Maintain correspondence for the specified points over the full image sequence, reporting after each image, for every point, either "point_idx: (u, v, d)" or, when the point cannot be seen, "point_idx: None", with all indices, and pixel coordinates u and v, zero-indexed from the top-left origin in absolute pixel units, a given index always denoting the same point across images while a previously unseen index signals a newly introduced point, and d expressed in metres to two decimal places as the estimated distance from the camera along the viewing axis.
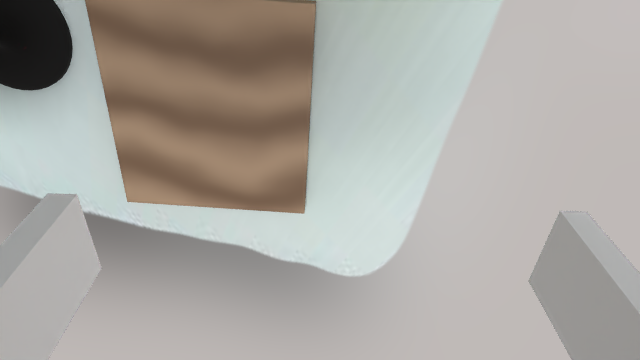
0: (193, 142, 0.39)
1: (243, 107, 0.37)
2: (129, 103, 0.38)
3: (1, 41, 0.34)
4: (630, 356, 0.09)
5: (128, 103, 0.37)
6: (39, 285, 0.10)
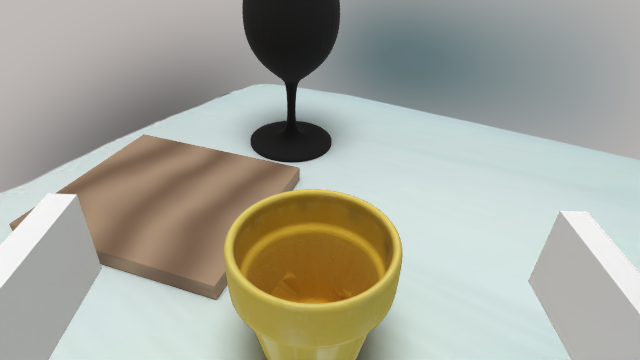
0: (157, 178, 0.43)
1: (160, 213, 0.39)
2: (214, 160, 0.47)
3: (287, 127, 0.53)
4: (630, 356, 0.09)
5: (214, 159, 0.47)
6: (39, 285, 0.10)
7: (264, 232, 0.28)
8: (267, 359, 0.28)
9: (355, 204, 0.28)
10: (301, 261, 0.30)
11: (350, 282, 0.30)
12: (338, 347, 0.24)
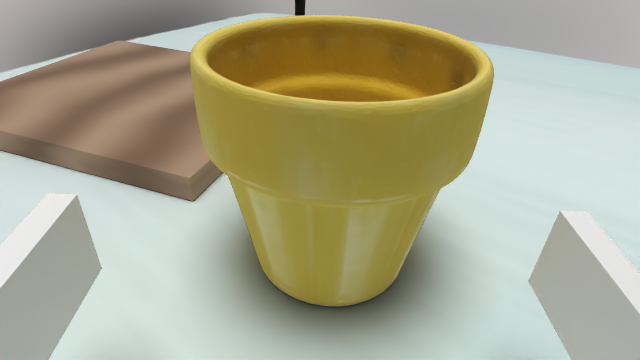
0: (127, 75, 0.34)
1: (125, 106, 0.29)
2: None
3: None
4: (630, 356, 0.09)
5: None
6: (39, 285, 0.10)
7: (261, 75, 0.18)
8: (263, 266, 0.18)
9: (401, 31, 0.18)
10: None
11: None
12: (383, 220, 0.14)
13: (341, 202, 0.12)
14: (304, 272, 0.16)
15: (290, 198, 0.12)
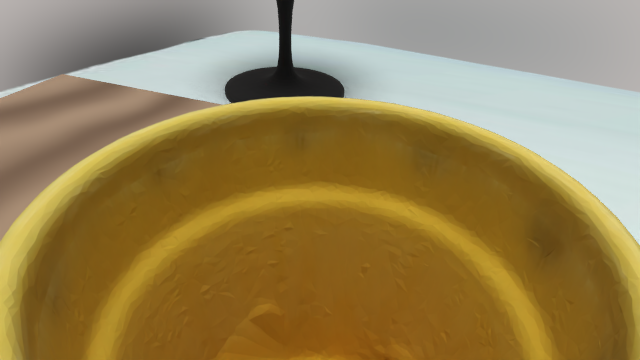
0: (59, 129, 0.26)
1: (43, 182, 0.21)
2: (161, 106, 0.30)
3: (278, 67, 0.35)
4: None
5: (162, 106, 0.30)
6: None
7: (196, 201, 0.11)
8: None
9: (433, 130, 0.11)
10: (293, 276, 0.13)
11: (408, 325, 0.13)
12: None
13: None
14: None
15: None
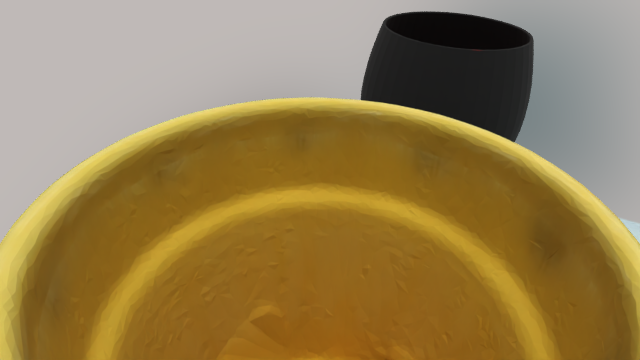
0: None
1: None
2: None
3: None
4: None
5: None
6: None
7: (197, 202, 0.11)
8: None
9: (434, 131, 0.11)
10: (294, 277, 0.13)
11: (409, 327, 0.13)
12: None
13: None
14: None
15: None
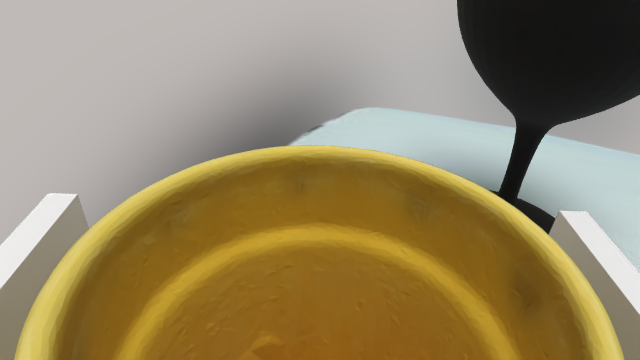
0: None
1: None
2: None
3: None
4: (629, 356, 0.09)
5: None
6: (40, 285, 0.10)
7: (202, 245, 0.12)
8: None
9: (424, 180, 0.11)
10: (293, 309, 0.14)
11: (401, 357, 0.13)
12: None
13: None
14: None
15: None
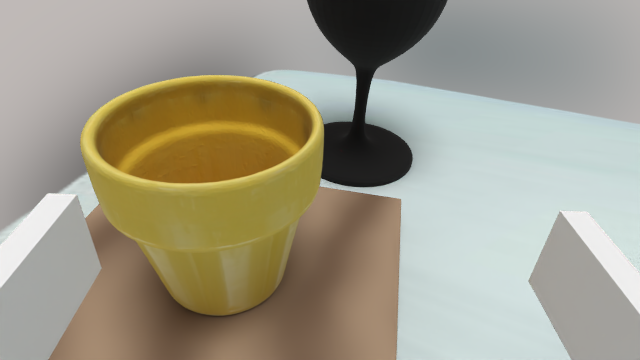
0: None
1: None
2: None
3: (352, 134, 0.37)
4: (630, 356, 0.09)
5: None
6: (39, 285, 0.10)
7: (151, 131, 0.22)
8: None
9: (266, 88, 0.22)
10: (207, 173, 0.25)
11: None
12: (249, 253, 0.18)
13: (209, 249, 0.16)
14: (197, 294, 0.20)
15: (170, 249, 0.16)
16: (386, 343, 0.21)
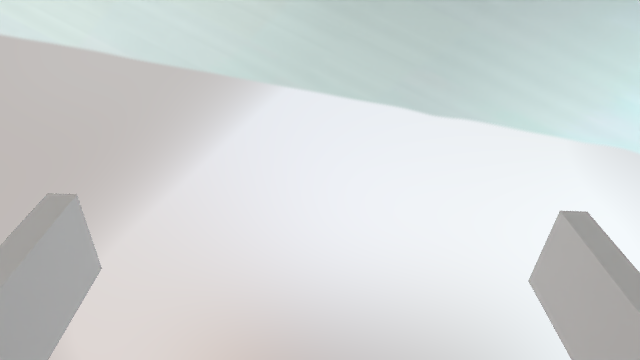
0: None
1: None
2: None
3: None
4: (630, 356, 0.09)
5: None
6: (39, 285, 0.10)
7: None
8: None
9: None
10: None
11: None
12: None
13: None
14: None
15: None
16: None
